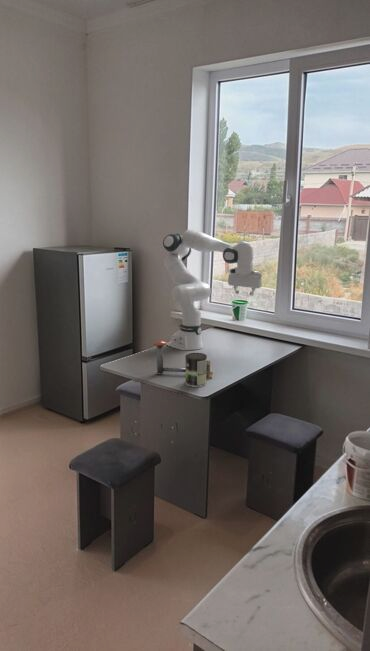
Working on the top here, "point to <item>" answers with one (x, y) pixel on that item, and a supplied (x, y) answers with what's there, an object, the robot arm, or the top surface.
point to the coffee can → (196, 369)
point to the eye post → (208, 370)
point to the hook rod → (160, 359)
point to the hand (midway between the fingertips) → (244, 294)
